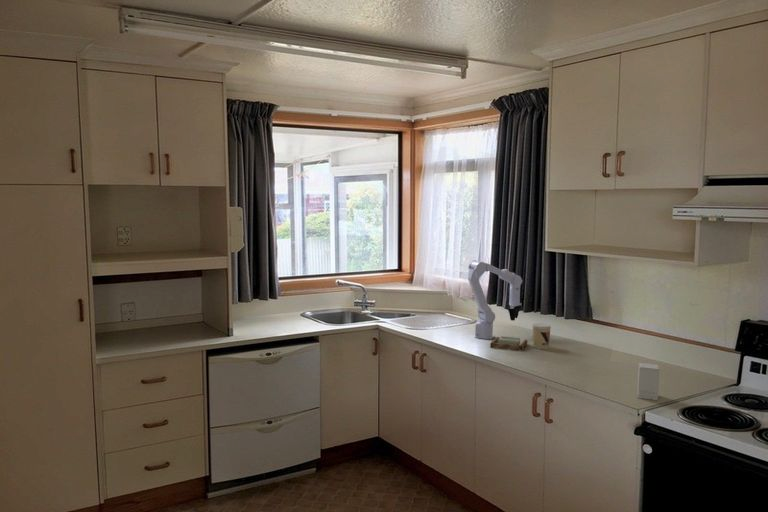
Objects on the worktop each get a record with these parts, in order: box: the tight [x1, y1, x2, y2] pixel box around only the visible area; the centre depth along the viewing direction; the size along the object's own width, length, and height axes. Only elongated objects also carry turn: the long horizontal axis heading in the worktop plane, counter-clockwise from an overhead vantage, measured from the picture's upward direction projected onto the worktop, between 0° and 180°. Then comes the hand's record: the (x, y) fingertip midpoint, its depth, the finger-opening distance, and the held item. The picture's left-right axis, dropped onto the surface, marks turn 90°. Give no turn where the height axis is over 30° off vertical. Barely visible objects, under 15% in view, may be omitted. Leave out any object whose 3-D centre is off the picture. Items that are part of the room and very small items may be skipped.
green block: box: [498, 335, 521, 345], centre depth 322 cm, size 10×8×4 cm
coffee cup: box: [532, 323, 552, 350], centre depth 320 cm, size 9×9×12 cm
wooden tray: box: [489, 336, 528, 351], centre depth 323 cm, size 16×15×2 cm
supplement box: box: [636, 362, 660, 401], centre depth 241 cm, size 7×7×13 cm
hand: (514, 319), depth 347 cm, fingers open, 7 cm apart
